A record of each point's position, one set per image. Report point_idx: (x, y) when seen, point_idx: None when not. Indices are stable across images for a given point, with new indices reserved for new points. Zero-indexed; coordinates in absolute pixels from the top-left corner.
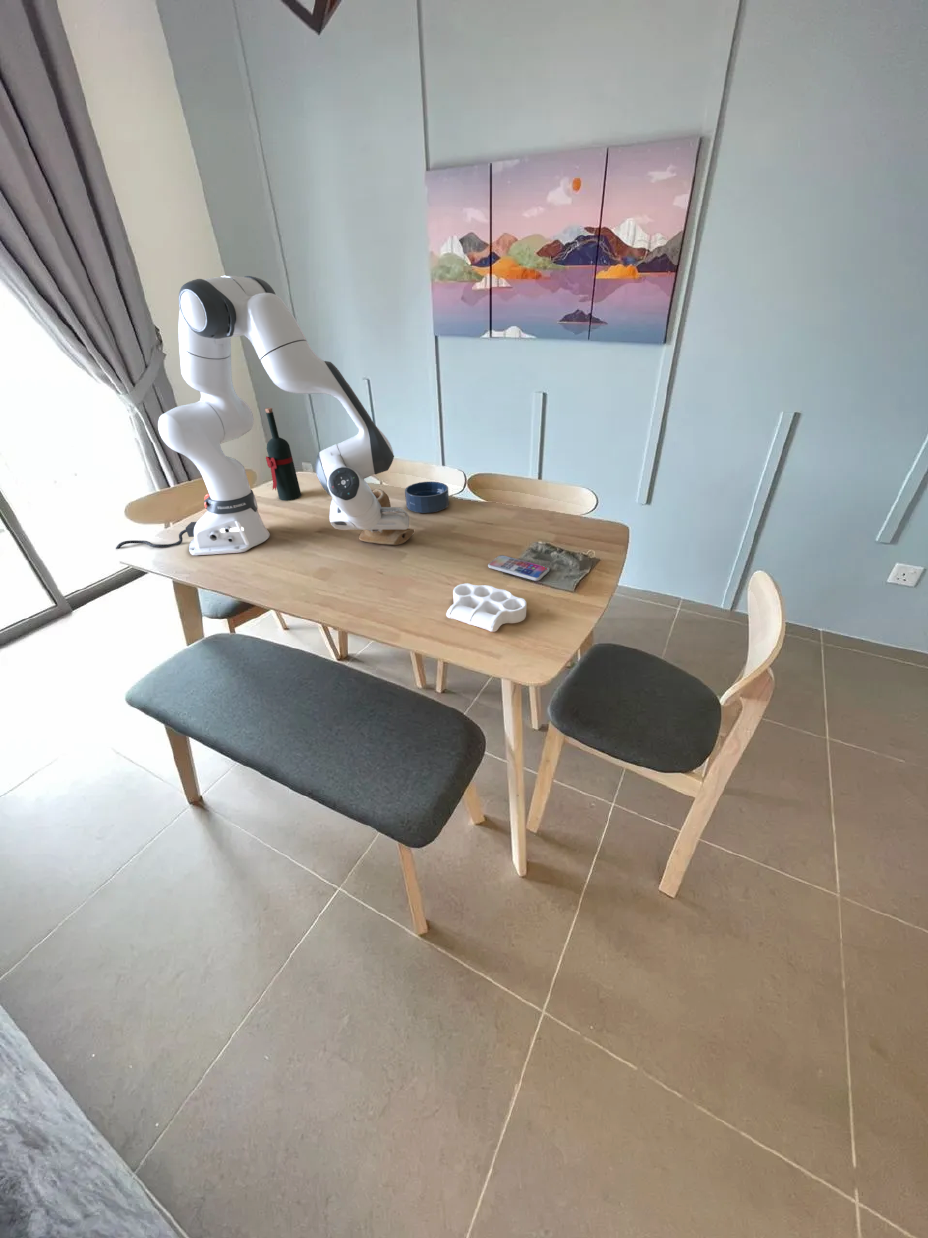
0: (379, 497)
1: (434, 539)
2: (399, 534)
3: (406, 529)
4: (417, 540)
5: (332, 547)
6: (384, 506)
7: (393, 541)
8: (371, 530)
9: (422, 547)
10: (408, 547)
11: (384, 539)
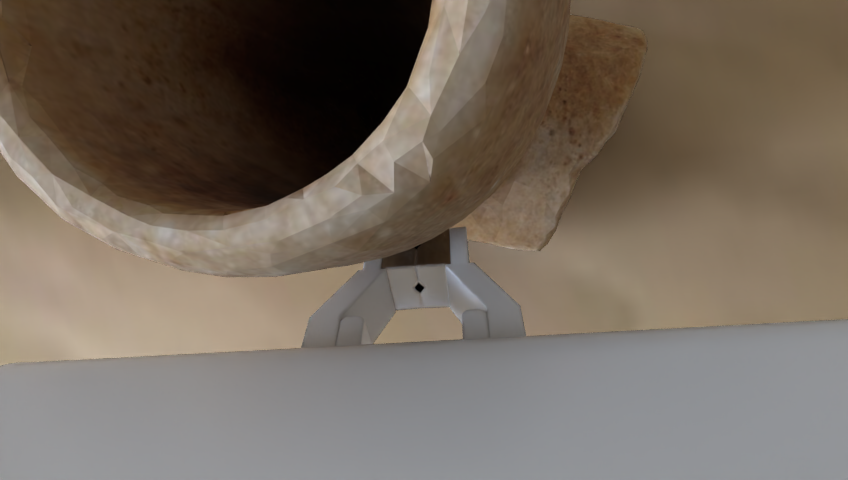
0: (456, 45)
1: (773, 85)
2: (574, 170)
3: (608, 80)
4: (654, 111)
5: (131, 256)
6: (530, 134)
7: (535, 239)
8: (386, 318)
9: (718, 211)
10: (619, 219)
11: (463, 224)
